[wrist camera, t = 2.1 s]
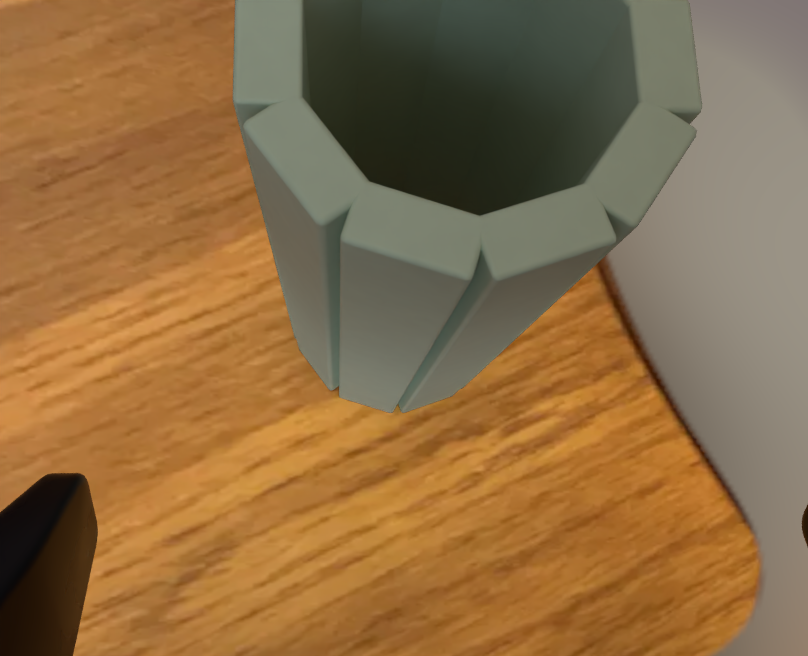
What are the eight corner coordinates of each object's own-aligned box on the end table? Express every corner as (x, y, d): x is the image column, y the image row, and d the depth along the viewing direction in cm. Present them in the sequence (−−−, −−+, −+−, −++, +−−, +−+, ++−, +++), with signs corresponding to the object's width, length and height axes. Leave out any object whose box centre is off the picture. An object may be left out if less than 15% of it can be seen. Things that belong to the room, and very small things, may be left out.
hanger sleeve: (465, 436, 21) (653, 337, 9) (264, 375, 21) (155, 183, 8) (515, 252, 22) (743, -71, 10) (327, 193, 22) (313, -207, 10)
